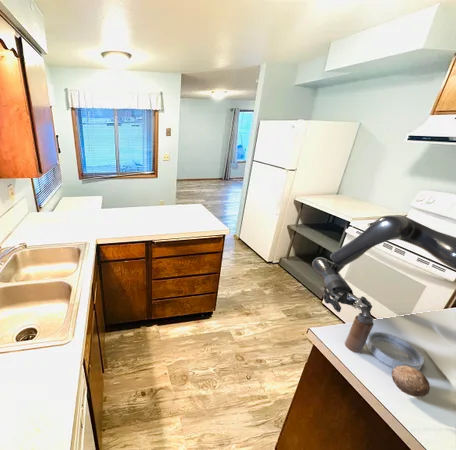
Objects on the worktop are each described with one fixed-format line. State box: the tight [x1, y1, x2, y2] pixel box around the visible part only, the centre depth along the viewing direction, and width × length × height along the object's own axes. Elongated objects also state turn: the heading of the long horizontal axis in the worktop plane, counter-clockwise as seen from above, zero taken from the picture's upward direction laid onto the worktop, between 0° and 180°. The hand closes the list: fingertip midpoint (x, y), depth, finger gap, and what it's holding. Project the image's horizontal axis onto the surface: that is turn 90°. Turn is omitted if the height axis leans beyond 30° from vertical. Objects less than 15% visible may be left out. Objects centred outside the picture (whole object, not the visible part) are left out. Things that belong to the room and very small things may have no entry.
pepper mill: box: [344, 312, 375, 354], centre depth 79 cm, size 5×5×15 cm
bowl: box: [365, 331, 425, 371], centre depth 79 cm, size 13×13×4 cm
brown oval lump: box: [391, 365, 431, 398], centre depth 68 cm, size 8×8×6 cm
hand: (353, 313), depth 84 cm, fingers open, 8 cm apart
